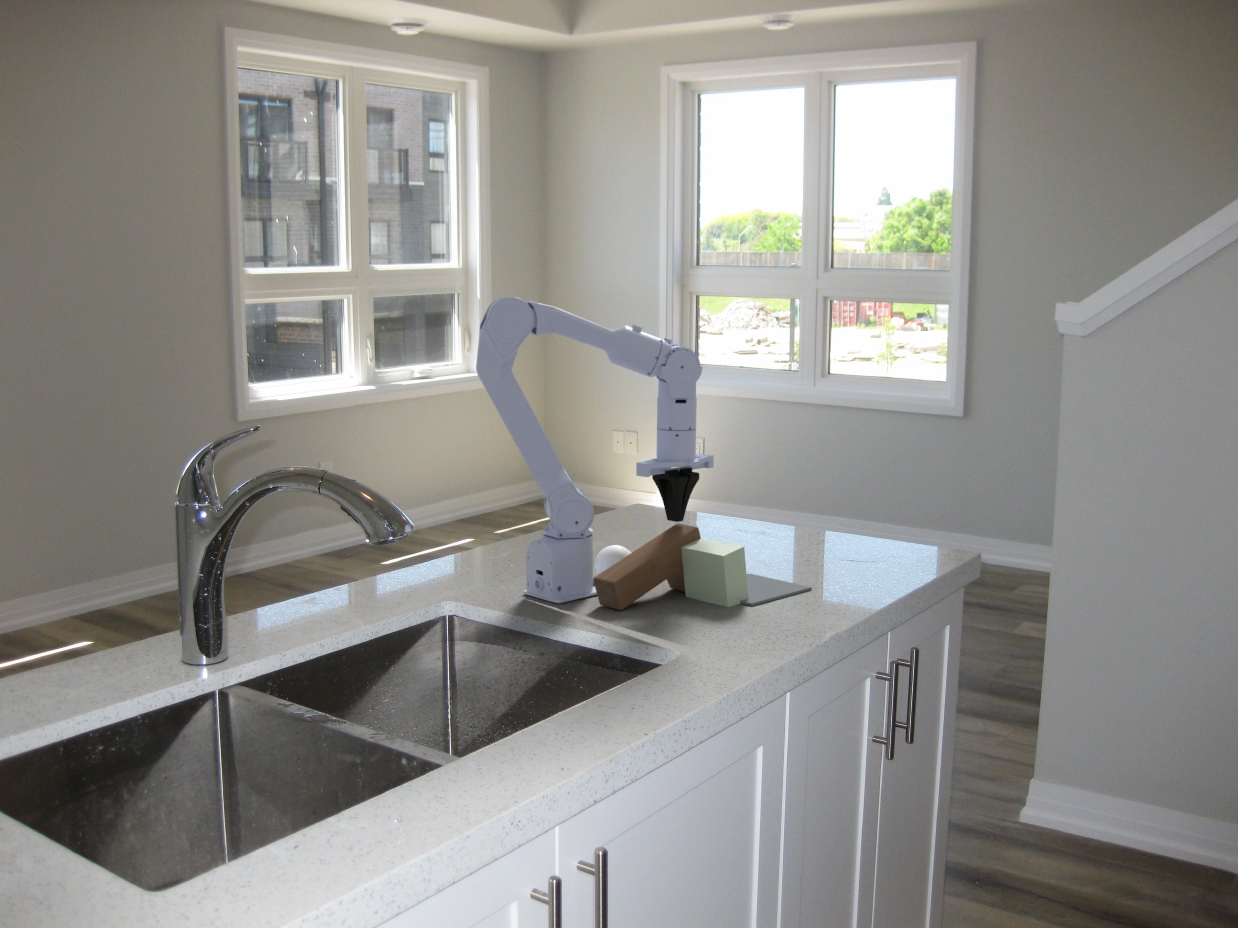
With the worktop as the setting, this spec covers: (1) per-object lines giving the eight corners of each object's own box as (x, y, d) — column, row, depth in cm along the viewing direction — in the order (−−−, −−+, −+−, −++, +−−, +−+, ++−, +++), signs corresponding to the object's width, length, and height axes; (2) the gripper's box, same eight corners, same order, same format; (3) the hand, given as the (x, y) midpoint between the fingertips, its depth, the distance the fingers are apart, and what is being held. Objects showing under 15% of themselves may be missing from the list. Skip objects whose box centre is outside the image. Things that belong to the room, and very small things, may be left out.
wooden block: (711, 580, 171) (628, 640, 160) (689, 575, 174) (606, 633, 163) (699, 526, 168) (613, 583, 157) (676, 521, 171) (591, 577, 160)
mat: (751, 606, 162) (751, 603, 162) (688, 590, 170) (688, 588, 170) (811, 589, 171) (811, 587, 171) (749, 575, 180) (749, 573, 180)
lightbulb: (660, 539, 180) (605, 536, 173) (671, 574, 177) (616, 573, 170) (637, 558, 184) (582, 556, 177) (648, 592, 181) (593, 591, 174)
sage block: (728, 609, 161) (723, 555, 159) (686, 599, 167) (681, 547, 165) (748, 599, 164) (744, 546, 162) (706, 589, 170) (701, 538, 168)
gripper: (661, 434, 160) (660, 530, 162) (729, 427, 170) (728, 518, 172) (626, 430, 165) (625, 523, 167) (694, 423, 175) (692, 511, 177)
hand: (675, 520), depth 170 cm, fingers closed
